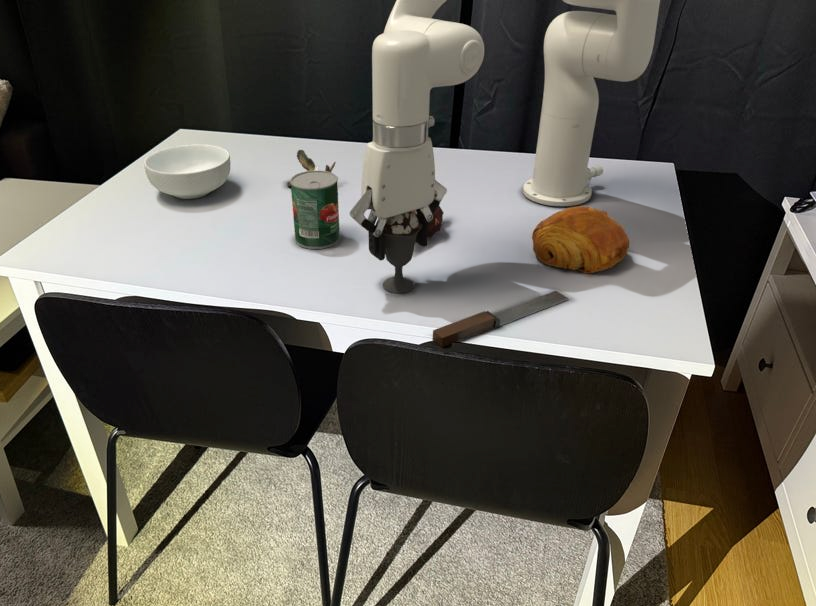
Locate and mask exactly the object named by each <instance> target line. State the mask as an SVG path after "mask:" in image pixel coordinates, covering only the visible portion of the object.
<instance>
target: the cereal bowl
mask: <svg viewBox="0 0 816 606" xmlns="http://www.w3.org/2000/svg"><path fill="white" fill-rule="evenodd" d="M143 161H144V162H143V166H144V170H145V174H146V178H147V180H148V181H149V183H150V184H151V185H152V187H153V188H154V189H156V190H157V191H159V192H161V193H164V194H167V195H169V196H173V197H175V198H177V199H182V200H193V199H194V200H195V199H199V198H202V197H205V196H207V195H209V194H210V193H211V192H213V191H215V190H216V189H219V187H221V186H222V185H224V183H225V182H226V181H227V180H228V178H229V175H230V173H231V155H230V153H229V152H228V150H227V149H225V148H223V147H220V146H218V145H213V144H203V143H192V144H191V143H190V144H183V145H182V144H180V145H175V146H171V147H166V148H162V149H160V150H157V151H155V152H152V153H151V154H149V155H148V156H147V157H146V158H145V159H144V160H143Z"/></svg>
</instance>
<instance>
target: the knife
mask: <svg viewBox="0 0 816 606" xmlns="http://www.w3.org/2000/svg"><path fill="white" fill-rule="evenodd" d="M568 300H569V297H568V296H565V295H564V294H563V293H561V292H559V291H557V290H554V291H551V292H549V293H546V294H542V295H541V296H538V297H534V298H532V299H530V300H528V301H524V302H521V303H519V304H517V305H514V306H511V307H509V308H506V309H504V310H501V311H498V312H495V313H491V312H490V311H489V310H484V311H481V312H479V313H476V314H473V315H470V316H468V317H464V318H463V319H460V320H457V321H454V322H451V323H449V324H446V325H444V326H441V327H438V328H435V329H433V330H432V341H433V342H435V343H436V344H437V345H438V346H440V347H441V348H444V347H447V346H450V345H452V344H454V343H457V342H460V341H463V340H466V339H467V338H470V337H473V336H475V335H478V334H481V333H483V332H486V331H488V330H491V329H498V328H500V327H501V326H504V325H506V324H507V325H508V324H509V323H512V322H515V321H517V320H519V319H522V318H525V317H528V316H530V315H532V314H536V313H538V312H540V311H542V310H546V309H548V308H551V307H554V306H556V305H558V304H561V303H563V302H564V303H565V302H566V301H568Z"/></svg>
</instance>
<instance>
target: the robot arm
mask: <svg viewBox="0 0 816 606" xmlns="http://www.w3.org/2000/svg"><path fill="white" fill-rule="evenodd" d="M447 1H448V0H396V1H395V3H394V5H393V7H392V9H391V11H390V14H389V16H388V19H387V22H386V24H385V27H384V30H383V33H381V34H379V35H377V36H376V37H375V39H374V40H373V43H372V47H371V49H372V50H371V71H372V72H371V77H372V79H371V80H372V85H371V86H372V88H371V89H372V90H371V91H372V141H370V142H368V143H367V145H366V149H365V154H364V159H363V165H362V176H361V177H362V178H361V195H360V198H359V200H358V201H357V202H356V203H355V205H354V206H353V207H352V208H351V210H350V211H349V216H350V217H351V218H352V219H353V220H354V221H355V222H356V223H357V224H358V225H360V227H362V228H363V229H365V230H366V231H367V232H368V251H369V253H370V254H371V255H372V256H373V257H375V258H376V259H377V260H379V261H380V262H381V261H384V260H385V258H386V255H385V236H384V235H383V234H382V231H383V228H384V226H385V224H386V221H387V219H388V217H392V216H396V215H399V214H403V213H406V212H410V211H413V210H415V212H416V215H415V216H416V217H417V219H418V222H419V223H421V224H422V228H421V230H420V231H419V232H418V233H417V236H416V241H415V244H418V245H419V246H420V247H422V248H425V247H428V243H429V242H428V241H429V238H428V233H429V221H431V220H432V219H433V213H434V212H435V210H436V209H437V208H438V206H440V205H439V204H441V202H442V201H443V199H444V197H445V195H446V194H447V193H448V189H447V188H446V186H444V185H443V184H441V183H440V182H439V181H437V180H436V165H435V163H436V162H435V154H434V148H433V142H432V139H431V137H429V132H430V131H429V129H430V127H433V126H434V125H435V121H436V120H435V118H434V116H433V115H430V103H431V102H430V100H431V99H430V98H431V90H432V89H433V88H439V87H440V88H441V87H449V86H450V87H451V86H457V85H461V84H463V83H465V82H467V81H469V80H470V79H471V78H473V77H474V76H475V75H476V74H477V72H478V71H479V69H480V67H481V66H482V64H483V61H484V57H485V43H484V40H483V37H482V36H481V34H480V33H479V31H477V30H476V29H475V28H474V27H472V26H470V25H468V24H464V23H460V22H454V21H449V20H442V19H436V18H433V16H434V15H435V14H436V12H437V11H438V10H439V9H440V8H441V7H442V5H443V4H445V2H447ZM561 1H562V2H563V3H565V4H568V5H571V6H578V7H584V8H590V9H591V8H592V9H601V10H606V11H607V10H608V11H614V12H615V14H609V13H604V12H595V11H586V10H571V11H565V12H562V13H561V14H559V15H557V16H556V17H555V18H554V19H552V21H551V22H550V23H549V25H548V27H547V29H546V31H545V34H544V39H543V62H544V84H543V97H542V104H541V112H540V119H539V126H538V127H539V128H538V135H537V143H536V150H535V158H534V166H533V172H532V178H530V179H528V180H526V181H525V182H524V184H523V185H522V194H523V195H524V196H525V198H527V199H528V200H530V201H532V202H534V203H537V204H540V205H543V206H544V205H545V206H550V207H575V206H579V205H582V204H584V203H586V202H588V201H590V199H591V197H592V193H593V189H592V187H591V186H590V185H589V181H591V179H592V178H594V179H595V178H597V177H600V176H602V175H603V174H604V168H603V167H602V165H596V166H592V167H589V162H590V161H589V160H590V155H591V151H592V150H591V149H592V143H593V140H594V139H593V138H594V133H595V127H596V121H597V115H598V110H599V104H600V98H599V90H598V86H597V84H596V80H595V79H594V78H596V79H602V80H607V81H614V82H625V83H626V82H633V81H635V80H637V79H638V78H640V77H641V76H642V75H643V73H644V72H645V71H646V69H647V67H648V66H649V63H650V61H651V57H652V55H653V49H654V46H655V39H656V32H657V24H658V19H659V13H660V12H659V10H660V4H661V0H561ZM442 198H443V199H442ZM441 200H442V201H441ZM440 201H441V202H440ZM439 202H440V203H439ZM368 210H370V212H369V214H368V216H367V217H366V216H365V213H366V212H367V211H368Z"/></svg>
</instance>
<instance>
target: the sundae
mask: <svg viewBox="0 0 816 606" xmlns="http://www.w3.org/2000/svg"><path fill="white" fill-rule="evenodd" d="M421 228H422V224H421V223H419V222H418V219H417V217H416V216H415V215H414V214H413V213H412V211H410V212H406V213H403V214H399V215H396V216H392V217H388V219H387V221H386V224H385V226H384V228H383V231H382V234H383V235H384V236H385V258H386V261H387V262H388V263H389V264H390V265H391V266H393V267H394V276H392V277H388V278H386V279H385V280H384V281H383V282H382V284H381V285H382V288H383V289H384V290H385V291H387V292H389V293H393V294H405V293H408V292H410V291H412V290H413V289H414V288H415V282H414V281H413V280H412V279H411V278H408V277H406V276H404V274H403V267H405V266H407V264H409V263H410V262H411V261H412V258H413V257H414V252H415V246H416V242H415V241H416V236H417V233H418V232H419V231H420V230H421Z"/></svg>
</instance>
